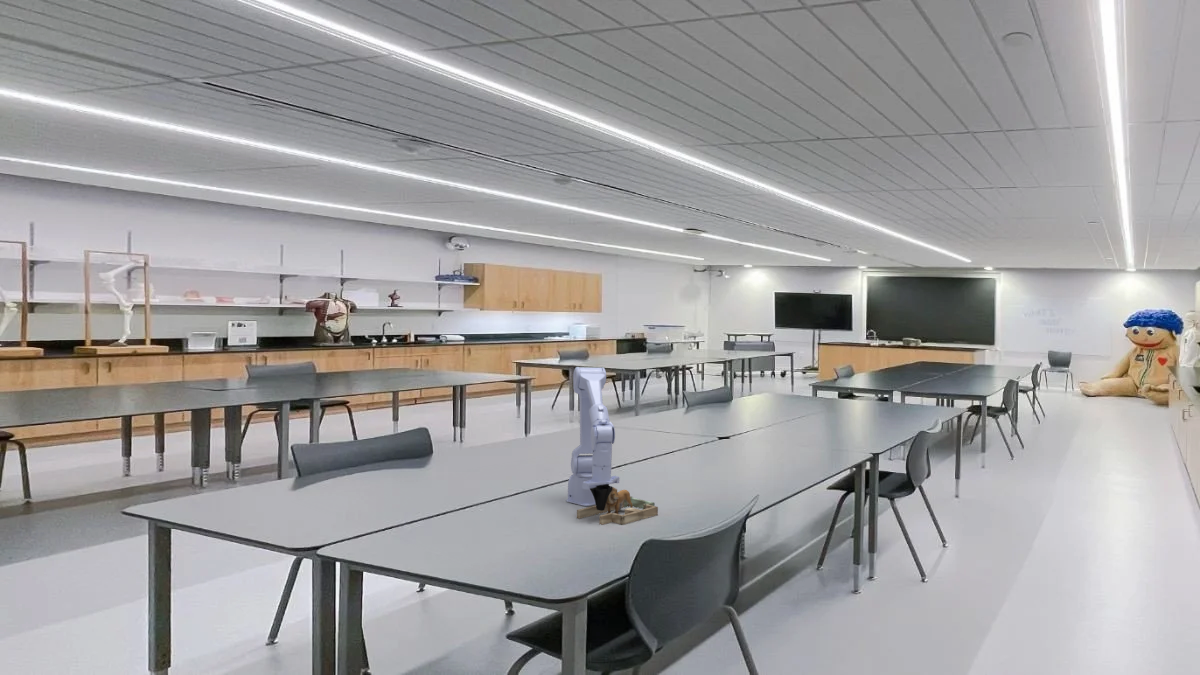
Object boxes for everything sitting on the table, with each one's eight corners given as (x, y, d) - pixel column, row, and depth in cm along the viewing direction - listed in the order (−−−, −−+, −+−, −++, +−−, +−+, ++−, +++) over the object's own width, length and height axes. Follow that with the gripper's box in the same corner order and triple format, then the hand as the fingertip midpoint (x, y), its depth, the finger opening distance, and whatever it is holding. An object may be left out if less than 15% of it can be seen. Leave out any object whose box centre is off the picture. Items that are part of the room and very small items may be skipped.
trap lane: (576, 518, 235) (577, 508, 235) (629, 504, 254) (630, 496, 253) (612, 527, 226) (612, 518, 225) (664, 513, 244) (664, 504, 244)
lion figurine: (615, 519, 235) (617, 489, 234) (600, 516, 237) (601, 487, 237) (635, 509, 248) (636, 481, 248) (620, 506, 250) (621, 478, 250)
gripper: (595, 470, 227) (594, 516, 227) (627, 463, 237) (626, 508, 238) (577, 466, 231) (576, 512, 232) (610, 460, 242) (608, 504, 243)
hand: (600, 510), depth 235 cm, fingers closed
